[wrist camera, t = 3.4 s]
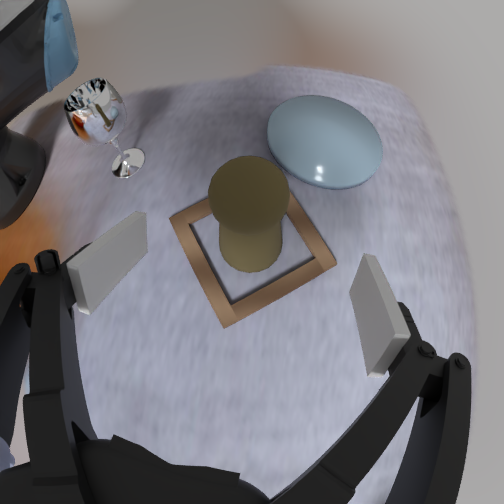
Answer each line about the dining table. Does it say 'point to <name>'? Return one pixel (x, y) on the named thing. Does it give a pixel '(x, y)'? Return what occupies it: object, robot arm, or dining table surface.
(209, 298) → the walnut frame
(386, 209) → the dining table surface
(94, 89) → the wineglass
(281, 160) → the saucer
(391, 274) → the dining table surface
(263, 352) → the dining table surface
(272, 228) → the cork
